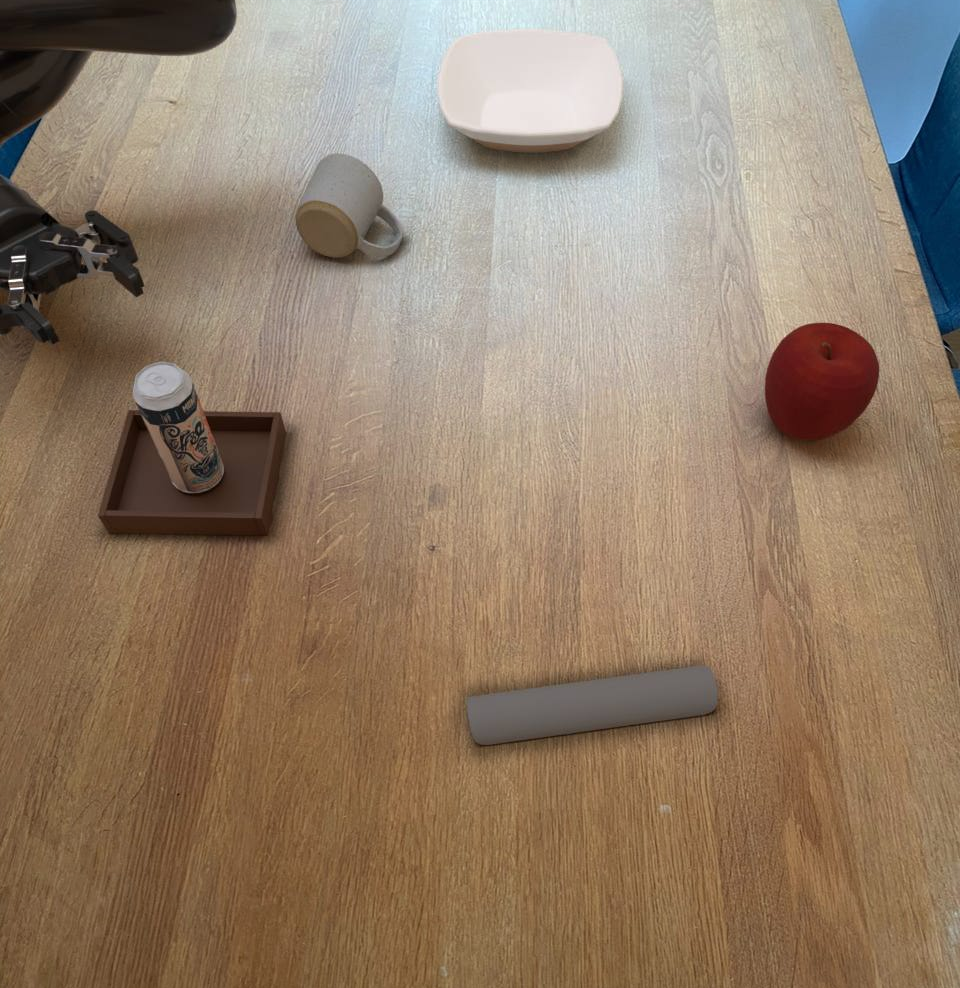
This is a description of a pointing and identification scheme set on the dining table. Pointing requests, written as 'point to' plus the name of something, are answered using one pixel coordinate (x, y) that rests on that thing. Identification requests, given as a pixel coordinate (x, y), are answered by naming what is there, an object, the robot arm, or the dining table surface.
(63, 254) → the robot arm
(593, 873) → the dining table surface
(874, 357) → the apple
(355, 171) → the ceramic mug
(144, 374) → the beer can
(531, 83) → the bowl
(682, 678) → the half round rod
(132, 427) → the serving tray
